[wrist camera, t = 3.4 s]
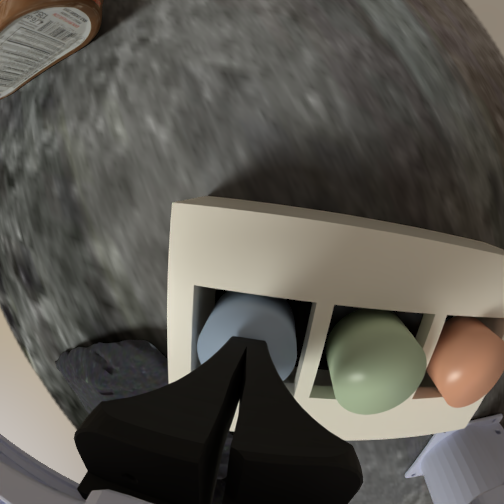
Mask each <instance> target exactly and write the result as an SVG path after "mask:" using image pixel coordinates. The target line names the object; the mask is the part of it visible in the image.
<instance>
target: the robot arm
mask: <svg viewBox="0 0 504 504" xmlns="http://www.w3.org/2000/svg"><path fill="white" fill-rule="evenodd" d="M238 403H239V413H238V419H237V423H236V427H235V431H234V435H233V439H232V442H231V446H230V454H229V461H228V469H227V477H226V484H225V492H224V496H223V501H222V504H348V503H349V502H350V500H351V499H352V498H353V497H354V495H355V494H356V493H357V492H358V490H359V489H360V487H361V485H362V483H363V475H362V470H361V466H360V463H359V460H358V457H357V455H356V452H355V450H354V448H353V446H352V445H351V444H349V443H347V442H346V441H344V440H343V439H341V438H339V437H338V436H336V435H334V434H333V433H331V432H330V431H328V430H327V429H326V428H325V427H323V426H322V425H321V424H319V423H318V422H317V421H316V420H315V419H313V418H312V417H311V416H310V415H309V414H308V413H307V412H306V411H305V410H304V409H303V408H302V407H301V406H300V404H299V403H298V402H297V401H296V400H295V398H294V397H293V396H292V394H291V393H290V392H289V390H288V389H287V387H286V386H285V384H284V382H283V381H282V379H281V377H280V375H279V374H278V372H277V370H276V368H275V365H274V363H273V361H272V359H271V356H270V353H269V350H268V346H267V343H266V341H264V340H257V339H250V338H244V337H237V336H232V337H231V338H230V339H229V340H228V341H227V342H226V343H225V344H224V345H223V346H222V347H221V348H220V349H219V350H218V351H217V352H216V353H215V354H214V355H213V356H211V357H210V358H209V359H208V360H207V361H206V362H204V363H203V364H202V365H200V366H199V367H197V368H196V369H195V370H193V371H192V372H190V373H189V374H187V375H185V376H184V377H182V378H180V379H178V380H177V381H175V382H172V383H170V384H168V385H165V386H163V387H161V388H158V389H156V390H153V391H150V392H147V393H143V394H140V395H136V396H132V397H128V398H122V399H116V400H109V401H101V402H100V403H99V404H98V405H97V406H96V407H95V408H94V409H93V410H92V412H91V413H90V414H89V415H88V417H87V418H86V419H85V420H84V422H83V423H82V424H81V426H80V427H79V428H78V430H77V431H76V432H75V436H74V440H75V444H76V447H77V449H78V452H79V454H80V456H81V458H82V460H83V462H84V464H85V466H86V468H87V470H88V472H87V473H86V475H85V477H84V478H83V480H82V482H81V483H80V484H78V483H76V482H74V481H72V480H70V479H69V478H67V477H65V476H63V475H61V474H59V473H58V472H56V471H54V470H52V469H51V468H49V467H47V466H46V465H44V464H43V463H41V462H39V461H38V460H36V459H35V458H33V457H31V456H30V455H28V454H27V453H25V452H24V451H23V450H21V449H20V448H18V447H17V446H15V445H14V444H13V443H11V442H10V441H9V440H7V439H6V438H5V437H3V436H2V435H1V434H0V504H212V500H213V495H214V490H215V486H216V481H217V476H218V472H219V467H220V462H221V458H222V453H223V449H224V446H225V442H226V439H227V436H228V433H229V430H230V427H231V424H232V421H233V418H234V415H235V412H236V409H237V406H238ZM502 417H503V415H502V414H497V415H493V416H489V417H485V418H481V419H476V420H471V421H469V423H468V424H467V426H466V427H465V428H464V429H459V430H454V431H448V432H442V433H436V434H434V435H433V436H432V438H431V439H430V441H429V442H428V444H427V445H426V447H425V448H424V449H423V451H422V452H421V454H420V455H419V456H418V458H417V459H416V460H415V462H414V463H413V464H412V466H411V467H410V468H409V469H408V471H407V472H406V473H405V477H406V478H410V477H415V476H421V475H424V478H425V481H426V484H427V486H428V489H429V492H430V495H431V498H432V501H433V504H504V429H503V427H502V426H501V424H500V423H499V422H500V421H501V419H502Z"/></svg>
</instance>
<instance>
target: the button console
mask: <svg viewBox="0 0 504 504" xmlns="http://www.w3.org/2000/svg"><path fill="white" fill-rule="evenodd" d="M216 289H222V290H228V291H235V292H242V293H249V294H256V295H263V296H270V297H277V298H285V299H292V300H300V301H308V302H312V306H311V311H310V316H309V321H308V325H307V330H306V334H305V339H304V343H303V348H302V352H301V356H300V360H299V364H298V367H294V368H293V370H292V372H291V373H290V375H289V376H288V377H287V378H286V379H285V380H284V381H283V382H284V384H285V386H286V387H287V389H288V390H289V392H290V393H291V394H292V396H293V397H294V398H295V400H296V401H297V402H298V403H299V404H300V406H301V407H302V408H303V409H304V410H305V411H306V412H307V413H308V414H309V415H310V416H311V417H312V418H313V419H315V420H316V421H317V422H318V423H319V424H321V425H322V426H323V427H325V428H326V429H327V430H328V431H330V432H331V433H333V434H334V435H336V436H338V437H339V438H341V439H343V440H377V439H392V438H404V437H413V436H422V435H429V434H436V433H442V432H448V431H454V430H459V429H464V428H465V427H466V426H467V424H468V423H469V421H470V420H471V418H472V417H473V415H474V413H475V412H476V410H477V408H478V407H479V405H480V403H481V402H482V400H483V398H484V396H485V395H484V396H483V397H482V398H481V399H479V400H478V401H476V402H474V403H473V404H470V405H468V406H465V407H461V408H454V407H451V406H449V405H448V404H447V402H446V401H445V399H444V398H443V396H442V395H441V393H440V391H439V390H438V388H437V387H436V385H435V384H434V382H433V381H432V379H431V378H430V376H429V375H428V373H425V375H424V378H423V380H422V382H421V384H420V385H419V387H418V388H417V389H416V391H415V392H414V393H413V394H412V395H411V396H410V397H409V398H408V399H407V400H405V401H404V402H403V403H401V404H400V405H398V406H396V407H395V408H392V409H390V410H388V411H385V412H382V413H378V414H371V415H361V414H356V413H352V412H350V411H348V410H346V409H344V408H343V407H342V406H341V405H340V404H339V403H338V401H337V400H336V397H335V394H334V390H333V385H332V381H331V376H330V371H329V370H322V369H318V366H319V362H320V359H321V355H322V352H323V348H324V344H325V340H326V336H327V332H328V328H329V324H330V320H331V316H332V312H333V308H334V305H342V306H351V307H361V308H370V309H381V310H391V311H402V312H414V313H424V314H423V317H422V320H421V323H420V326H419V329H418V332H417V335H416V338H415V339H416V340H417V342H418V343H419V344H420V346H421V347H422V349H423V350H424V352H425V355H426V359H427V366H428V364H429V361H430V359H431V357H432V354H433V352H434V349H435V347H436V344H437V342H438V339H439V336H440V334H441V331H442V328H443V325H444V323H445V320H446V317H447V315H454V316H453V317H455V316H472V317H476V318H477V319H478V320H479V321H481V322H482V323H483V324H484V325H485V326H487V327H488V328H489V329H490V330H491V331H493V332H494V333H495V334H496V335H497V336H498V337H500V338H501V339H502V340H503V341H504V250H503V249H501V248H498V247H495V246H493V245H490V244H487V243H485V242H481V241H477V240H473V239H468V238H464V237H460V236H455V235H451V234H446V233H442V232H437V231H432V230H427V229H422V228H417V227H412V226H407V225H402V224H397V223H392V222H386V221H381V220H375V219H370V218H364V217H358V216H352V215H346V214H340V213H334V212H328V211H321V210H315V209H308V208H301V207H294V206H287V205H280V204H272V203H265V202H257V201H249V200H241V199H232V198H223V197H214V196H203V197H198V198H192V199H187V200H182V201H177V202H172V211H171V225H170V241H169V261H168V294H167V348H168V380H169V384H170V383H172V382H175V381H177V380H178V379H180V378H182V377H184V376H185V375H187V374H189V373H190V372H192V371H193V370H195V369H196V368H197V367H199V366H200V365H201V363H200V360H199V357H198V352H197V343H198V339H199V335H200V333H201V331H202V329H203V327H204V325H205V323H206V322H207V320H208V318H209V316H210V314H211V312H212V310H213V308H214V306H215V294H216ZM427 366H426V368H427ZM238 413H239V403H238V406H237V409H236V412H235V415H234V418H233V421H232V424H231V427H230V430H229V431H235V427H236V423H237V419H238Z"/></svg>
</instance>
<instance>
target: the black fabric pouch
mask: <svg viewBox="0 0 504 504" xmlns="http://www.w3.org/2000/svg"><path fill="white" fill-rule="evenodd" d="M55 363H56V367H57V369H58V370H59V371H60V372H61V373H62V374H63V376H64V378H65V379H66V381H67V382H68V384H69V385H70V387H71V388H72V389H73V391H75V393H76V395H77V396H78V397H79V399H80V401H81V403H82V404H83V406H84V407H85V409H86V410H87V412H88V413H89V414H90V413H91V412H92V410H93V409H94V408H95V407H96V406H97V405H98V404H99V403H100V402H101V401H109V400H116V399H122V398H128V397H132V396H136V395H140V394H143V393H147V392H150V391H153V390H156V389H158V388H161V387H163V386H165V385H168V384H169V380H168V360H167V359H166V358H165V357H164V356H163V355H162V354H161V353H160V352H159V350H158V349H157V348H156V347H155V346H154V345H153V344H151V343H150V342H148V341H146V340H125V341H121V342H114V343H101V342H99V343H98V344H93V345H92V346H89V347H88V348H87V347H77V348H75V349H72V350H71V351H70V352H63V353H62V355H60V357H59V360H58V361H55ZM232 439H233V435H231V434H230V433H228V436H227V439H226V442H225V446H224V449H223V453H222V458H221V462H220V467H219V472H218V476H217V481H216V486H215V490H214V495H213V500H212V504H222V501H223V496H224V492H225V484H226V477H227V469H228V461H229V454H230V446H231V442H232Z"/></svg>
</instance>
